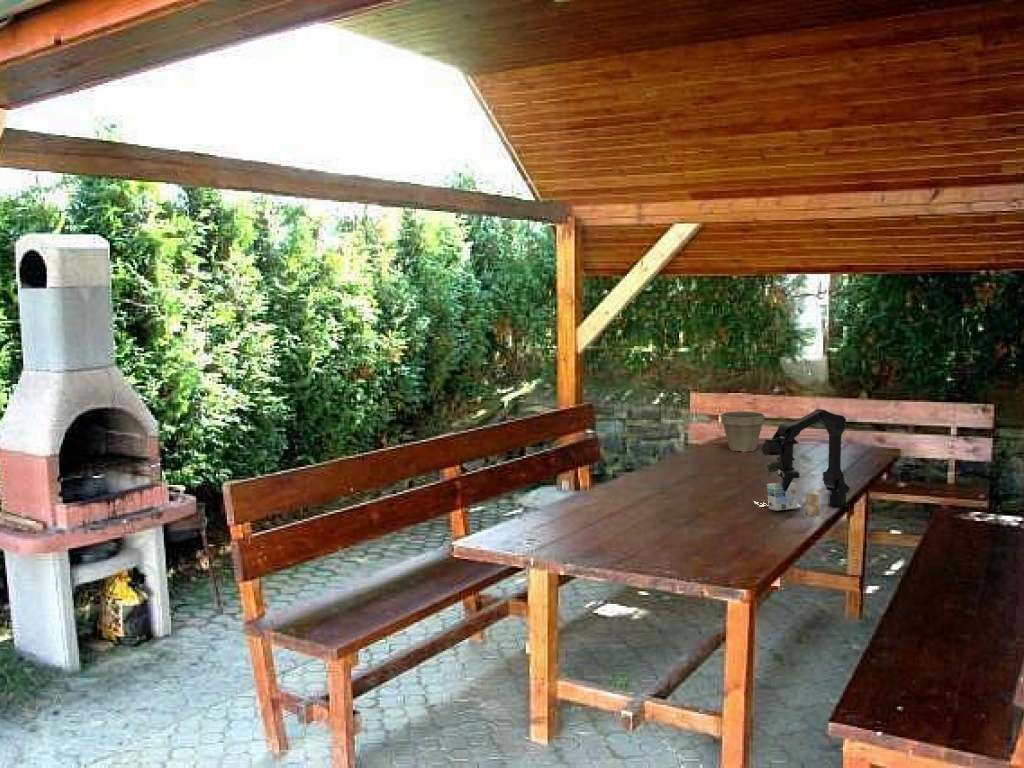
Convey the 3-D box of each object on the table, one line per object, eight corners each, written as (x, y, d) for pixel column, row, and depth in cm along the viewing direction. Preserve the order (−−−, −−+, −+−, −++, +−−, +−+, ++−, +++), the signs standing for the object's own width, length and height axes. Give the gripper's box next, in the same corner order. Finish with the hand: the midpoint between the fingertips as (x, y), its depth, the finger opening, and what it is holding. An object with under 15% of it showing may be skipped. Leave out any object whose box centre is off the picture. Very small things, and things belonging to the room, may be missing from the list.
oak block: (815, 513, 377) (816, 492, 377) (818, 515, 373) (819, 494, 373) (806, 513, 378) (806, 492, 377) (809, 515, 374) (809, 494, 373)
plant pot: (751, 455, 517) (751, 417, 515) (713, 451, 534) (713, 414, 532) (771, 449, 535) (772, 413, 533) (734, 445, 552) (734, 410, 550)
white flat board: (793, 501, 400) (793, 500, 400) (801, 507, 388) (801, 506, 388) (752, 502, 400) (752, 501, 400) (759, 508, 389) (759, 507, 389)
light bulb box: (776, 511, 380) (774, 485, 380) (767, 509, 386) (765, 484, 386) (798, 508, 383) (796, 482, 383) (790, 506, 389) (788, 481, 389)
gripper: (760, 451, 388) (759, 487, 389) (773, 457, 369) (772, 495, 370) (786, 451, 388) (785, 487, 389) (800, 458, 369) (799, 495, 370)
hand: (784, 491), depth 380 cm, fingers closed
